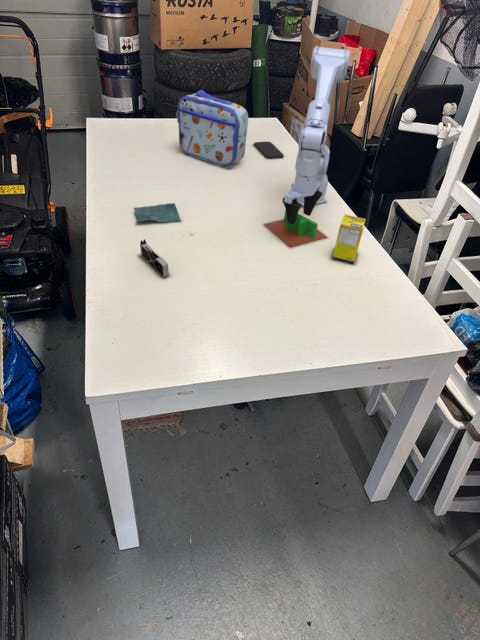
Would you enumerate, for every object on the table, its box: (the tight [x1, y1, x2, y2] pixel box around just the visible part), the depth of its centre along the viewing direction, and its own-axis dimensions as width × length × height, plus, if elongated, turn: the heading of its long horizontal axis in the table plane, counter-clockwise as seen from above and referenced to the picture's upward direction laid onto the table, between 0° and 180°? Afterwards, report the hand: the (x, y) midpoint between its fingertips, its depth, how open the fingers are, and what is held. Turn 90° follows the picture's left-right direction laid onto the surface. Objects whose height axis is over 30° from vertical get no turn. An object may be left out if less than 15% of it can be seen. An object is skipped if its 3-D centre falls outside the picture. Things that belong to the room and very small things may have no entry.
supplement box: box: [332, 214, 367, 265], centre depth 124 cm, size 6×6×11 cm
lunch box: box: [175, 89, 249, 167], centre depth 165 cm, size 28×10×22 cm, turn 58°
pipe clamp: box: [283, 209, 318, 238], centre depth 134 cm, size 11×4×5 cm, turn 46°
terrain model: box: [133, 202, 181, 223], centre depth 136 cm, size 13×8×2 cm, turn 108°
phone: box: [253, 141, 285, 159], centre depth 181 cm, size 7×1×15 cm
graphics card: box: [139, 239, 170, 278], centre depth 116 cm, size 12×3×5 cm, turn 37°
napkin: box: [264, 219, 327, 248], centre depth 136 cm, size 13×14×1 cm
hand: (299, 218), depth 132 cm, fingers open, 7 cm apart
